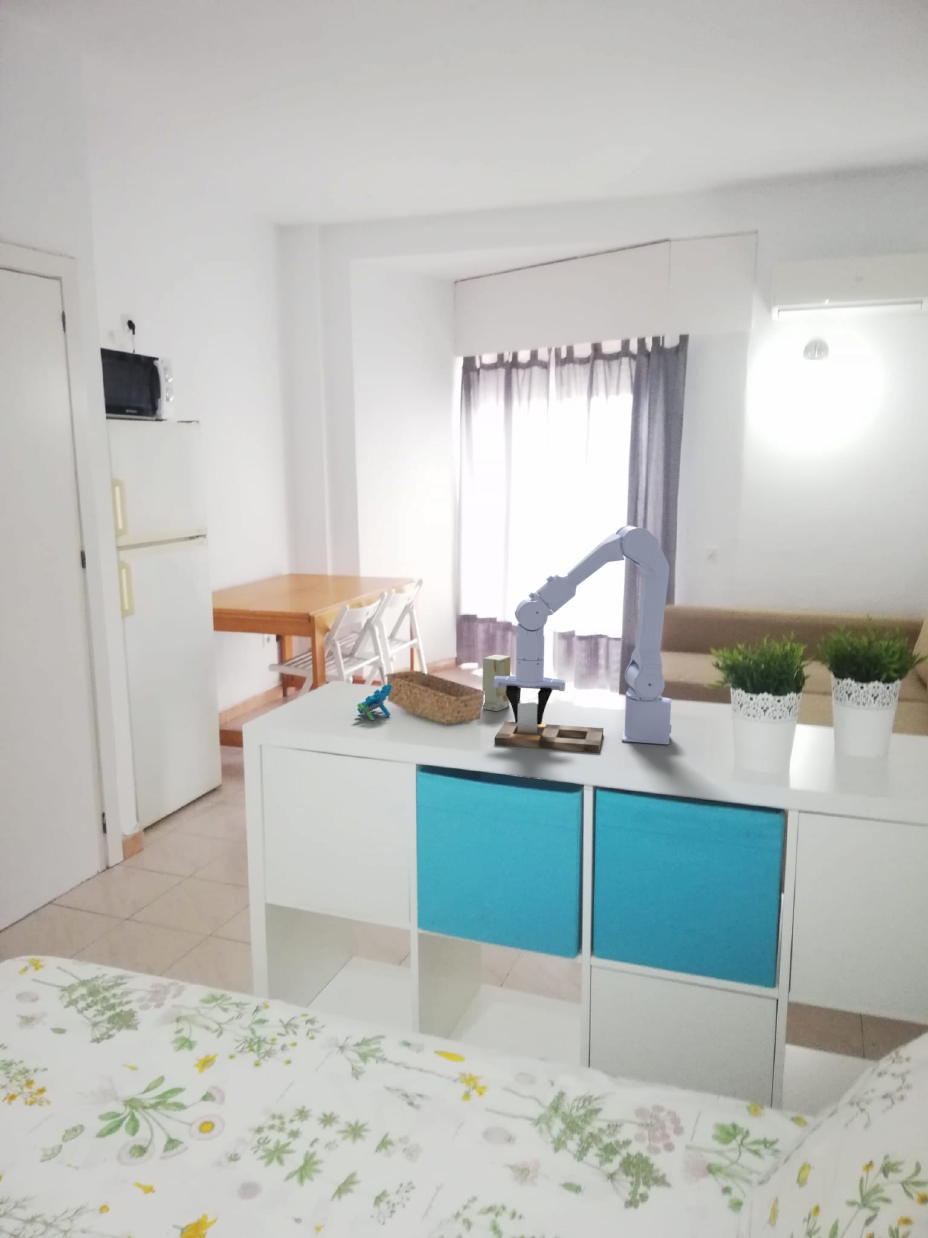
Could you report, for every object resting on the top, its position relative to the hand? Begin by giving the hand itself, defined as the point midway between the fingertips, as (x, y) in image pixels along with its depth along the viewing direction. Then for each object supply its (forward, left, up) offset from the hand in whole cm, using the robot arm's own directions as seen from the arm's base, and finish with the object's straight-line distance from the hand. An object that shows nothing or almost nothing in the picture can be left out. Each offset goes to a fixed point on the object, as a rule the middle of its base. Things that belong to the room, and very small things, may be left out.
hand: (528, 722), depth 177 cm
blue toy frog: (+36, -9, -4) cm, 38 cm away
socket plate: (-4, 0, -3) cm, 6 cm away
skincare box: (+11, -22, -4) cm, 25 cm away
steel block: (0, 0, -2) cm, 3 cm away
